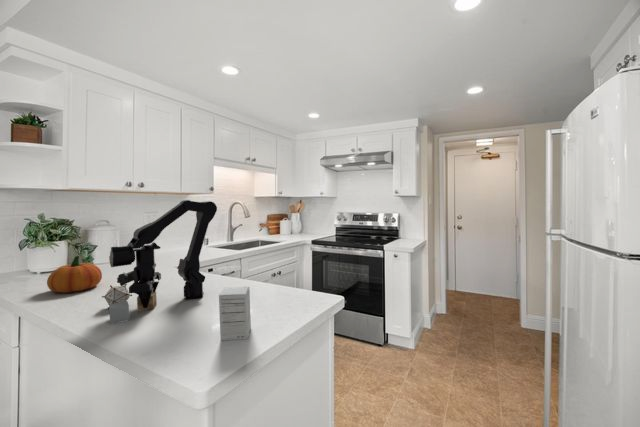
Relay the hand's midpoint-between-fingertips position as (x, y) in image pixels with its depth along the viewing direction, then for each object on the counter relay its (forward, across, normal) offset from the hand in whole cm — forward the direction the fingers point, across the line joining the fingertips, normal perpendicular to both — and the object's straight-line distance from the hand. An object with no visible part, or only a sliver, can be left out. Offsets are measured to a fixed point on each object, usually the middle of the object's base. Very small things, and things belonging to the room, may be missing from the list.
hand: (147, 305), depth 106 cm
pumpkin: (+1, -41, -38) cm, 56 cm away
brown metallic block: (+1, 0, 0) cm, 1 cm away
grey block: (+1, +9, -6) cm, 11 cm away
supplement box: (+1, +34, +30) cm, 45 cm away
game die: (+1, -6, -11) cm, 13 cm away
